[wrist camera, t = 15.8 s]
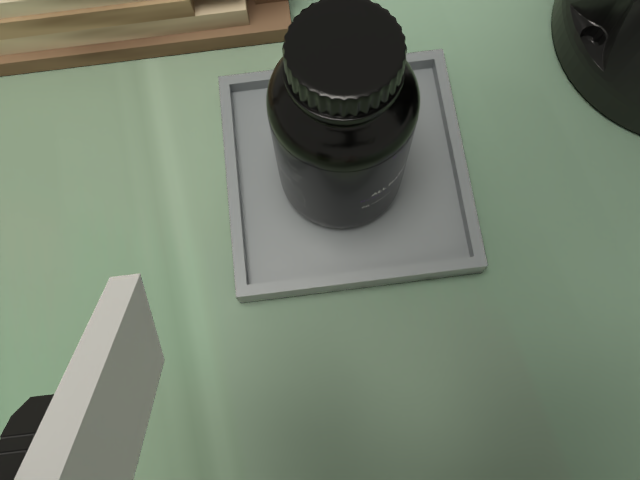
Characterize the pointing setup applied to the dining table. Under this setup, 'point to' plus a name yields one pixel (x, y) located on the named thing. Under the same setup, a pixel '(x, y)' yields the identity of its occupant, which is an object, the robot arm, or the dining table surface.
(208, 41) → the walnut rack
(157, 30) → the offcut stack
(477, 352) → the dining table surface
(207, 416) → the dining table surface
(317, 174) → the supplement bottle
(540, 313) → the dining table surface
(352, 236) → the grey tray
